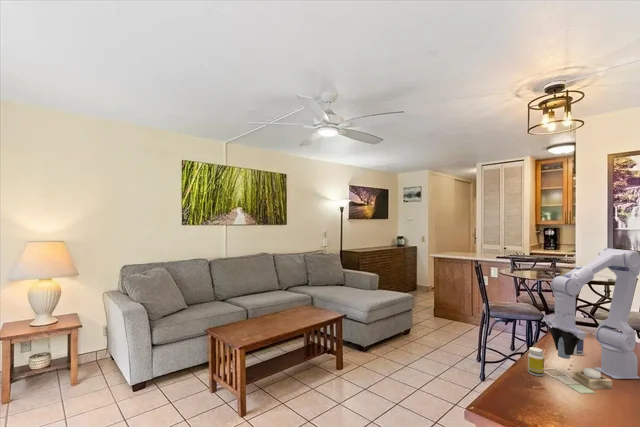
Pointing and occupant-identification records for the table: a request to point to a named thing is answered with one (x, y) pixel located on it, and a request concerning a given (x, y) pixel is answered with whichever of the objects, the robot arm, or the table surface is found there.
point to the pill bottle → (579, 348)
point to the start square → (555, 369)
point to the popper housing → (592, 381)
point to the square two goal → (581, 389)
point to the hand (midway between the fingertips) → (564, 352)
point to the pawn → (562, 349)
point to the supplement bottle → (535, 361)
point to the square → (567, 380)
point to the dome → (592, 373)
